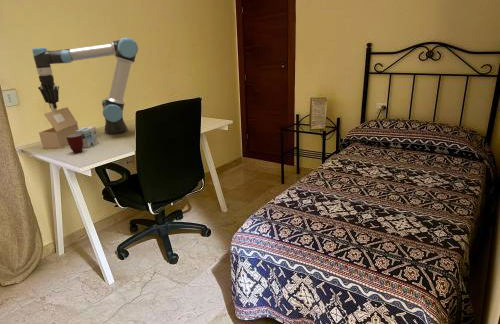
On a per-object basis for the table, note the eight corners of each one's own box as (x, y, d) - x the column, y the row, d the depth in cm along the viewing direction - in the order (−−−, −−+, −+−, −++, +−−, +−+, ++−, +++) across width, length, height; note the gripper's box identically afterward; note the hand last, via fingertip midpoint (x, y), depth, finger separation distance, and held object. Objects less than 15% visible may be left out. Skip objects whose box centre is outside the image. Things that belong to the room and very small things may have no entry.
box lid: (77, 123, 225) (78, 123, 225) (56, 131, 207) (56, 131, 206) (66, 107, 222) (67, 106, 222) (44, 114, 204) (45, 113, 204)
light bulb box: (88, 148, 208) (84, 130, 205) (78, 147, 210) (74, 130, 206) (99, 142, 218) (95, 126, 214) (89, 142, 220) (86, 126, 216)
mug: (73, 149, 207) (69, 133, 203) (87, 148, 208) (84, 132, 205) (68, 154, 197) (64, 138, 194) (83, 153, 199) (79, 136, 195)
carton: (80, 139, 229) (77, 124, 225) (60, 148, 210) (56, 132, 207) (64, 139, 231) (61, 124, 227) (42, 148, 212) (38, 132, 209)
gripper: (31, 75, 203) (41, 115, 212) (50, 75, 201) (60, 115, 209) (40, 74, 210) (50, 112, 218) (59, 73, 208) (68, 112, 216)
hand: (55, 113), depth 214 cm, fingers closed
